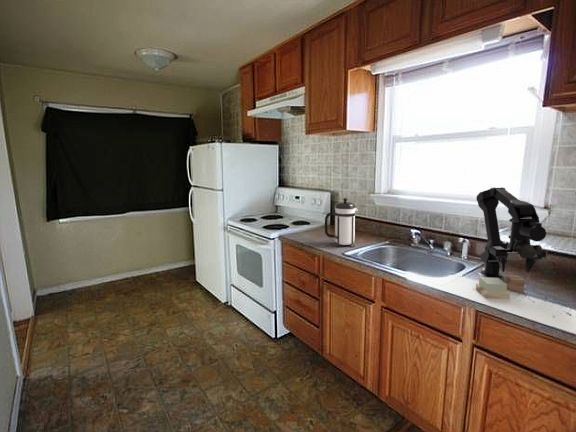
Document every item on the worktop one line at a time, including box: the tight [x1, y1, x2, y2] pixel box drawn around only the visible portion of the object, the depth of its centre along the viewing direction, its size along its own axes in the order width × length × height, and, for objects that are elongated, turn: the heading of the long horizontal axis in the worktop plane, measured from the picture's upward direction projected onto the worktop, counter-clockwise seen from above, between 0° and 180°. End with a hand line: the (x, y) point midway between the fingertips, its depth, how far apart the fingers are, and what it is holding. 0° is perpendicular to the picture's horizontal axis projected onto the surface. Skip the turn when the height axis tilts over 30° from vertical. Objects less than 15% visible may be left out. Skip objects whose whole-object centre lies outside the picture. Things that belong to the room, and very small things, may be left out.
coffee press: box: [324, 197, 359, 248], centre depth 198 cm, size 17×16×30 cm
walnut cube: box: [503, 274, 526, 292], centre depth 130 cm, size 5×5×5 cm
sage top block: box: [478, 276, 508, 292], centre depth 126 cm, size 7×7×3 cm
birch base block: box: [475, 283, 511, 300], centre depth 126 cm, size 8×8×3 cm
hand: (515, 271), depth 130 cm, fingers open, 9 cm apart
